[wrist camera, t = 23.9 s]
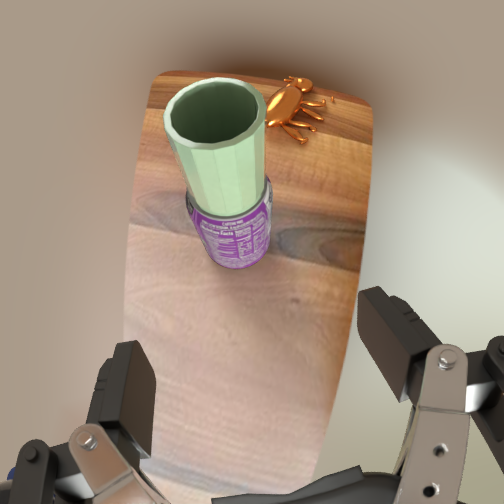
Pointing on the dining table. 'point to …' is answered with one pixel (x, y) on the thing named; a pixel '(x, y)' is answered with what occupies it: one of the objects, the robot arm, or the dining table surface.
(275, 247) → the dining table surface
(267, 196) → the beverage can
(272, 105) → the figurine
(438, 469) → the robot arm
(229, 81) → the cup
